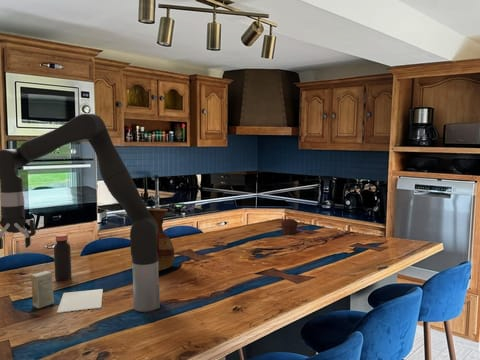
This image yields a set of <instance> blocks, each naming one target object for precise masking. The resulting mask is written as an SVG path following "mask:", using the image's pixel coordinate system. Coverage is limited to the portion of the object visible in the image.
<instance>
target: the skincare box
mask: <svg viewBox="0 0 480 360" xmlns="http://www.w3.org/2000/svg"><path fill="white" fill-rule="evenodd" d="M30 281H31V294H32V305H33V307H35V308H36V309H41V308H43V307H44V308H45V307H47V306H50V305H53V304H55V299H54V298H55V296H54V283H53V272H51V271H48V270H43V271H40V272H36V273H33V274H30Z"/></svg>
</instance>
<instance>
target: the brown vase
mask: <svg viewBox="0 0 480 360" xmlns="http://www.w3.org/2000/svg"><path fill="white" fill-rule="evenodd" d="M147 209H148V210H149V212H150V213H151V215H152V216H153V218H154V219H155V221H156V222H157V224H158V233H157V236H156V242H157V253H158V272H160V271H162V270H166V269H168V268H170V267H172V266H173V265H174V261H175V249H174V245H173V242H172V240H171V239H170V237H169V235H167V234H166V233H165V232H164V228H163V223H164V216H165V215H166V214H167V212H169V209H167V208H153V207H152V208H151V207H147Z"/></svg>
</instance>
